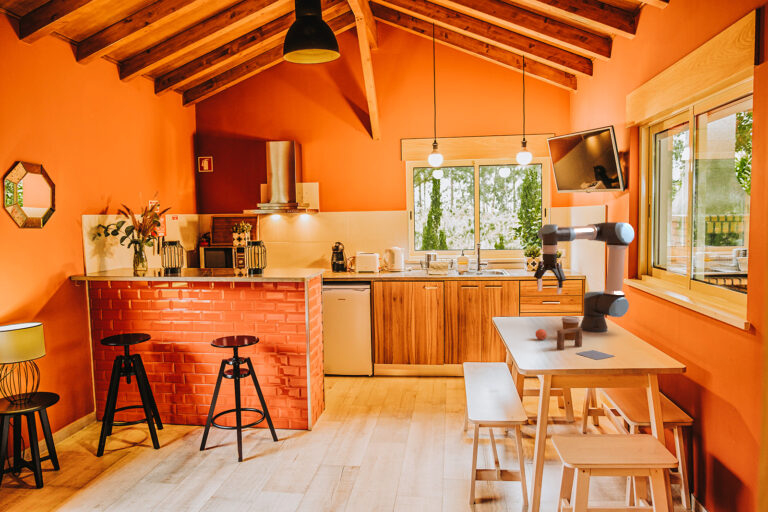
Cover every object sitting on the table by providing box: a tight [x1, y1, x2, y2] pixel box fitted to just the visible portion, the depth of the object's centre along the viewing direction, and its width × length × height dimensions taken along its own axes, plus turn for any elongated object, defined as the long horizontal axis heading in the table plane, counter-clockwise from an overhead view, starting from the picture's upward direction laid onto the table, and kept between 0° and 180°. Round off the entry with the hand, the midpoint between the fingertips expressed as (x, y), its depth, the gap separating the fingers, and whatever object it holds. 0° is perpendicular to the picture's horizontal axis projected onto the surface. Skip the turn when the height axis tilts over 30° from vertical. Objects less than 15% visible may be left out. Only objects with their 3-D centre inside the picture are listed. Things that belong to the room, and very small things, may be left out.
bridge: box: [556, 326, 583, 351], centre depth 268 cm, size 3×15×10 cm, turn 118°
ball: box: [535, 328, 548, 341], centre depth 286 cm, size 6×6×6 cm
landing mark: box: [575, 349, 615, 361], centre depth 255 cm, size 13×13×1 cm
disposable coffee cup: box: [561, 315, 581, 341], centre depth 288 cm, size 10×10×12 cm
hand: (549, 292), depth 279 cm, fingers open, 13 cm apart
